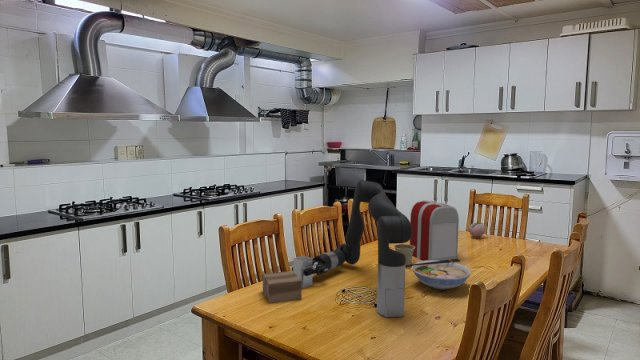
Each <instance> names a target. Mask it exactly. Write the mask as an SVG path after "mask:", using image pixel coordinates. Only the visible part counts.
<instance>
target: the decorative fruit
mask: <svg viewBox="0 0 640 360" xmlns="http://www.w3.org/2000/svg"><path fill="white" fill-rule="evenodd" d="M468 232H469V234H470V235H471V236H472V237H473V238H476V239H479V238H480V237H482V236H483V235H484V234H485V232H486V227H485V225H484V223H483V222H480V221H479V222H478V220H477V222H474V223H473V222H472V223H471V224H470V225H469V227H468Z"/></svg>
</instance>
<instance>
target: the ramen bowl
mask: <svg viewBox="0 0 640 360" xmlns="http://www.w3.org/2000/svg"><path fill="white" fill-rule="evenodd" d="M460 263H461V259H458V258H457V259H451V260H443V261H438V260H430V261H422V260H420V261H417V262H415V263H413V264H412V263H411V265H405V267H411V270H412V272H413V273H414V276H415V277H416V278H417V279H418V281H420V282H421V283H423V285H426V286H428V287H431V288H433V289H435V290H441V291H445V290H449V289H454V288H457V287H459V286H461V285H462V284H464V283H465V282H466V281H467V280H468V279H469V278H470V276H471V273H472V272H471V269H470V268H469V267H468V266H465V265H463V264H460Z"/></svg>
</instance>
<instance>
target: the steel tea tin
mask: <svg viewBox="0 0 640 360" xmlns="http://www.w3.org/2000/svg"><path fill="white" fill-rule="evenodd" d="M292 260H293V261H292V267H293V271H294V272H295V274H296V275H297V276H298V277H299V278H300V280H301V281H302V289H305V288H308V287H310V286H312V285H313V274H311V275H309V276H305V270H308V269H312V260H313V257H310V256H305V255H300V256H297V257H293V258H292Z"/></svg>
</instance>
